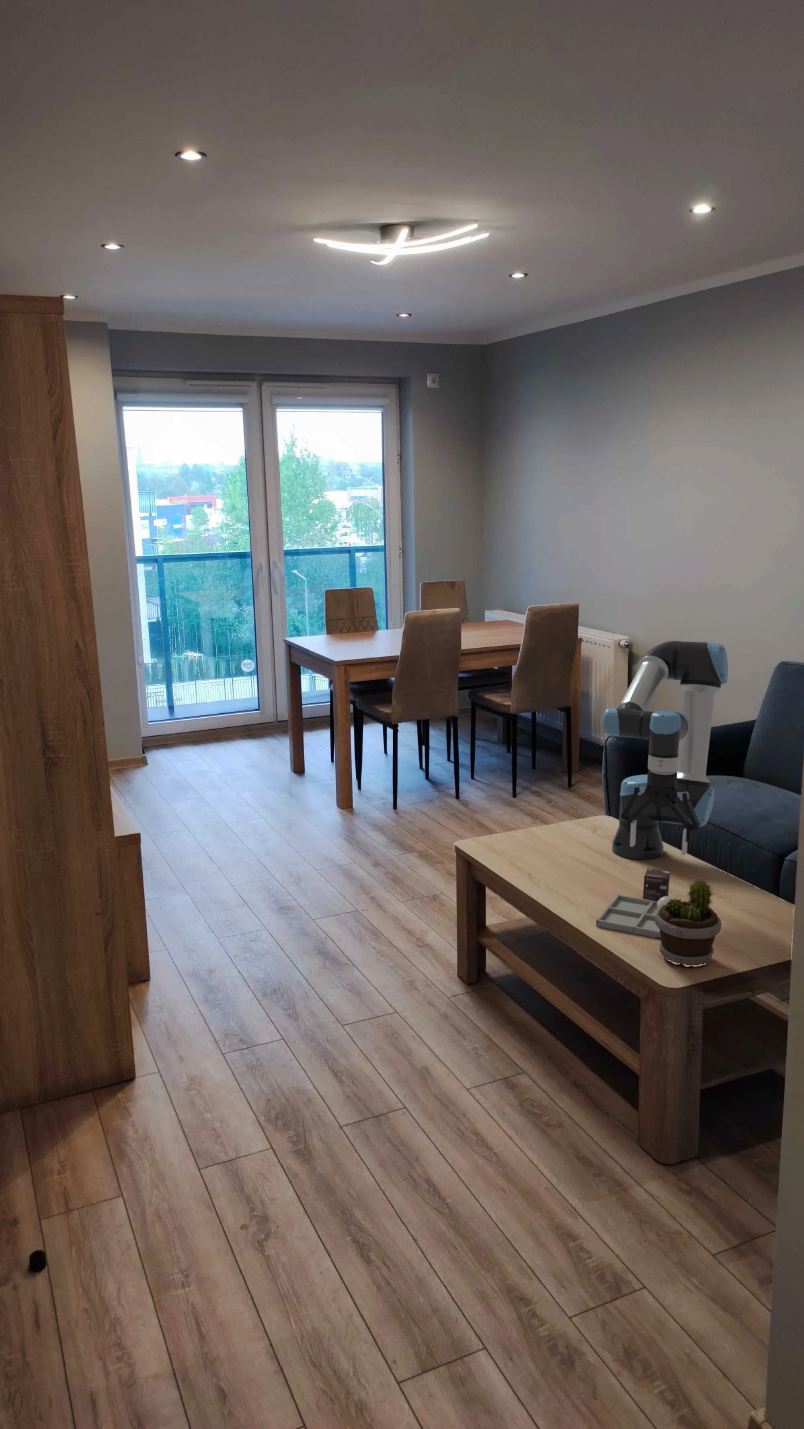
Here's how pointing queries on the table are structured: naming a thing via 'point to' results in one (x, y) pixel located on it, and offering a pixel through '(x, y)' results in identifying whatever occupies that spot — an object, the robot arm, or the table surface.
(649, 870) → the box
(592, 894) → the table surface
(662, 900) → the egg
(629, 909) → the egg tray
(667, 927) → the flowerpot
